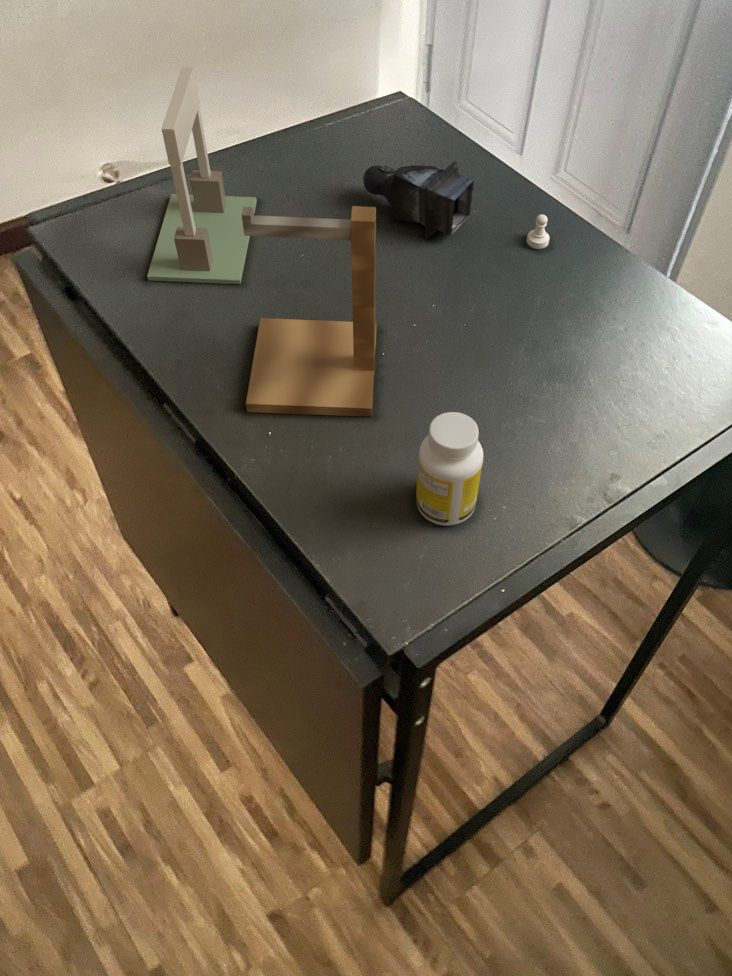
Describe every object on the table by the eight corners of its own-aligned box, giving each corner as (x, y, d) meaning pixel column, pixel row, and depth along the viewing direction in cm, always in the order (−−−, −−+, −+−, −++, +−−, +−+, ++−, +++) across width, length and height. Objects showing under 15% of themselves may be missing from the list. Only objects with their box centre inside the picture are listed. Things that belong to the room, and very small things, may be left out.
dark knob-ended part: (378, 183, 102) (378, 131, 96) (473, 219, 98) (479, 168, 93) (349, 209, 98) (348, 158, 93) (447, 248, 95) (452, 197, 90)
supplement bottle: (468, 476, 77) (480, 402, 68) (481, 524, 74) (495, 452, 65) (410, 482, 76) (415, 408, 68) (420, 531, 73) (427, 459, 65)
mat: (147, 280, 90) (146, 276, 90) (172, 197, 98) (171, 193, 98) (240, 284, 90) (239, 280, 90) (256, 201, 99) (256, 197, 98)
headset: (180, 270, 90) (149, 131, 77) (198, 201, 97) (172, 63, 84) (210, 271, 90) (183, 132, 77) (226, 202, 97) (204, 65, 84)
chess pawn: (541, 233, 97) (547, 206, 94) (552, 246, 96) (558, 219, 93) (522, 238, 97) (527, 211, 94) (532, 251, 95) (538, 224, 92)
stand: (247, 412, 80) (219, 254, 65) (261, 326, 87) (239, 165, 72) (372, 417, 80) (372, 260, 65) (376, 331, 87) (378, 171, 72)
